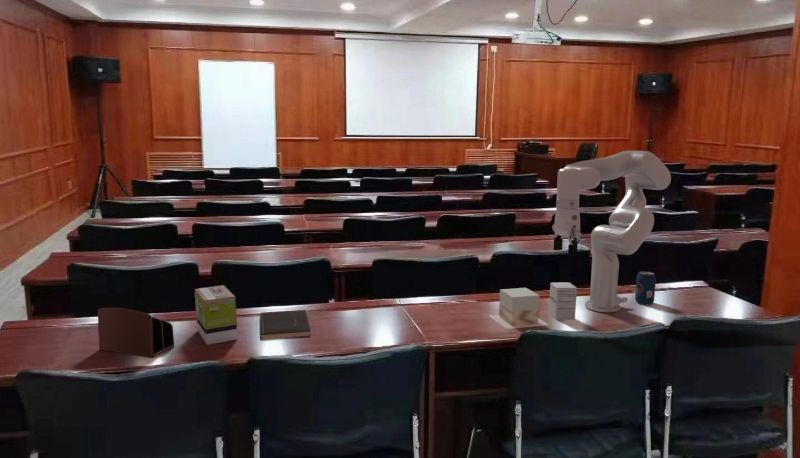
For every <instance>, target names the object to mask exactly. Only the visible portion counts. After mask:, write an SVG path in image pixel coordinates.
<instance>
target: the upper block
mask: <svg viewBox="0 0 800 458" xmlns="http://www.w3.org/2000/svg"><path fill="white" fill-rule="evenodd" d="M499 304H501V305H503V306H504V307H506V308H507V309H509V310H510V311H512V312H514V311H526V310H538V309H539V310H540V294H538V293H536V292H534V291H533V290H531V289H529V288H527V287H519V288H503V289H499Z"/></svg>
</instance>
